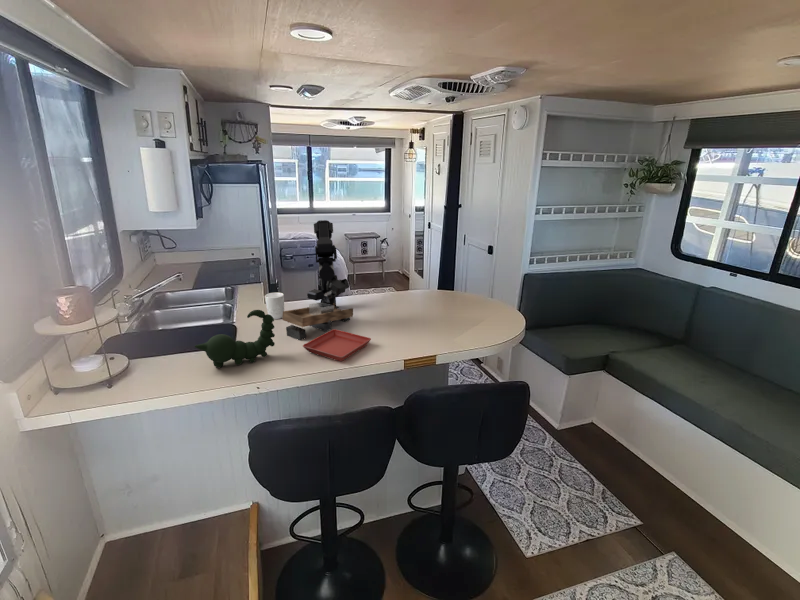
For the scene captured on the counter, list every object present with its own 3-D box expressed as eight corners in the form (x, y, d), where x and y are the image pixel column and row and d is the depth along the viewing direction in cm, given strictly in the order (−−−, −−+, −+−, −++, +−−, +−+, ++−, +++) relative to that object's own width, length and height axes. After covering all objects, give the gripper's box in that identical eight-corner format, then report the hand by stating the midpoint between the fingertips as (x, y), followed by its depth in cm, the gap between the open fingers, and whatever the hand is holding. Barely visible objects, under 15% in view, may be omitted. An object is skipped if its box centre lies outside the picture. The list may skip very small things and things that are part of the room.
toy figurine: (271, 354, 153) (195, 364, 142) (270, 304, 148) (191, 310, 137) (277, 364, 146) (197, 375, 134) (276, 312, 140) (193, 319, 129)
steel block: (321, 311, 177) (322, 302, 176) (333, 314, 173) (334, 305, 172) (308, 313, 171) (309, 304, 171) (320, 317, 167) (321, 307, 167)
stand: (335, 315, 186) (335, 307, 185) (351, 320, 180) (351, 312, 179) (285, 334, 166) (284, 326, 165) (301, 341, 160) (300, 332, 159)
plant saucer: (372, 345, 156) (372, 337, 155) (342, 365, 141) (341, 356, 140) (334, 336, 165) (333, 328, 164) (302, 354, 150) (301, 345, 149)
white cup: (281, 320, 181) (278, 298, 178) (264, 319, 182) (261, 297, 179) (288, 313, 188) (286, 292, 185) (272, 313, 190) (269, 292, 186)
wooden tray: (332, 311, 186) (333, 302, 185) (353, 318, 178) (354, 308, 178) (281, 321, 165) (282, 310, 164) (303, 328, 157) (303, 317, 156)
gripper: (323, 282, 159) (328, 320, 165) (357, 270, 173) (360, 305, 178) (304, 278, 165) (308, 314, 171) (337, 266, 179) (341, 300, 185)
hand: (330, 308), depth 176 cm, fingers closed
